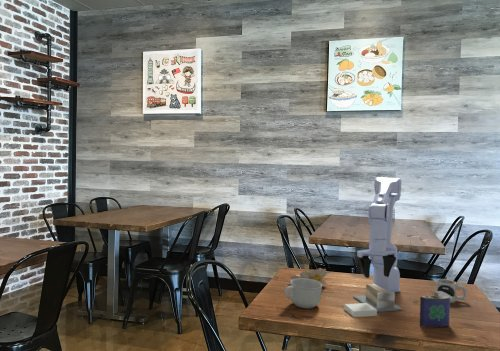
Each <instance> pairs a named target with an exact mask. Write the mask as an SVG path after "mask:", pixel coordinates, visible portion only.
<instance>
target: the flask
mask: <svg viewBox="0 0 500 351" xmlns="http://www.w3.org/2000/svg"><path fill="white" fill-rule="evenodd" d="M439 294H440V293H439ZM419 300H420V302H419V303H420V304H419V326H420V327H421V326H422V327H421V328H426V327H433V329H435V328H439V327H440V328H448V326H449V327H450V314H451V310H450V309H451V303H450V297H448V296H439V295H438V291H436V290H434V293H433V294H432V295H431V294H428V295H427V294H425V295H421V296H420V298H419Z"/></svg>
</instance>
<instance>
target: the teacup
mask: <svg viewBox="0 0 500 351" xmlns="http://www.w3.org/2000/svg"><path fill="white" fill-rule="evenodd" d="M322 287H323V284H322V283H320V282H318V281H316V280H312V279H306V278H297V279H291V280H290V285H288V286H286V288H285V290H284V296H285V297H286V299H288V300H289V301H291V302H292V303H293V304H294V305H295V306H297V307H298V308H300V309H301V308H302V309H313V308H314V307H316V306H318V305H319V303H320V301H321V300H322V298H321V297H322V289H323V288H322Z"/></svg>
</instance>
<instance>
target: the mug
mask: <svg viewBox="0 0 500 351" xmlns="http://www.w3.org/2000/svg"><path fill="white" fill-rule="evenodd" d="M457 289H458V290H459V289H461V290H462V291H463V294H462V296H459V295H457ZM435 291H438V295H439V296H448V297H450V304H453V303H456V301H461V300H462V301H465V300H466V298H467V294H468V293H467V288H466V286H463V285H460V284H457V282H456V281H455V280H451V279H445V278H440V279H436V283H435ZM439 293H440V294H439Z"/></svg>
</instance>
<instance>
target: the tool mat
mask: <svg viewBox="0 0 500 351" xmlns="http://www.w3.org/2000/svg"><path fill="white" fill-rule="evenodd" d="M353 299H354V300H357V301H358V302H359V303H367V304H369V305H370V306H372V307H373V308H375V309H376V310H377V313H383V312H396V311H403V308H402V307H400V306H399V305H397V304H395V303H394V307H392V308H377V304H375V303H373V302H372V301H370V300H369V299H367V298H366V294H365V295H353Z"/></svg>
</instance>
